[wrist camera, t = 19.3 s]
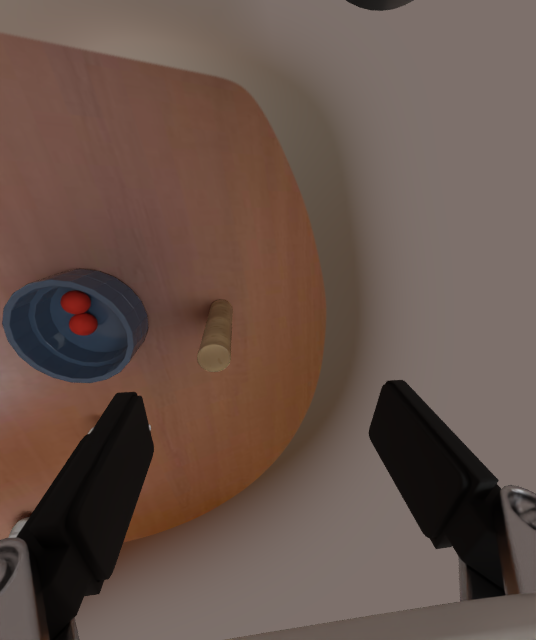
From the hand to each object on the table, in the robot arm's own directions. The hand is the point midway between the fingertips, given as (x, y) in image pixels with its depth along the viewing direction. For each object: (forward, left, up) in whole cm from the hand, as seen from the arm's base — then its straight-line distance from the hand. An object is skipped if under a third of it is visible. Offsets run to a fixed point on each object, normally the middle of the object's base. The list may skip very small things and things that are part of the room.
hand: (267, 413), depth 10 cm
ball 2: (-5, -22, -24) cm, 33 cm away
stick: (+3, -6, -26) cm, 27 cm away
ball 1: (-7, -20, -24) cm, 33 cm away
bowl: (-4, -21, -26) cm, 34 cm away
